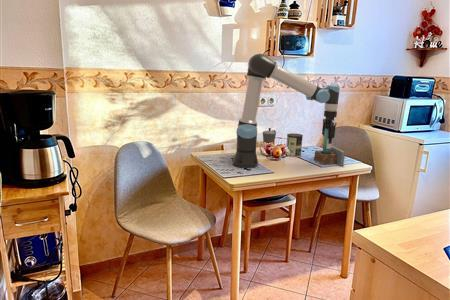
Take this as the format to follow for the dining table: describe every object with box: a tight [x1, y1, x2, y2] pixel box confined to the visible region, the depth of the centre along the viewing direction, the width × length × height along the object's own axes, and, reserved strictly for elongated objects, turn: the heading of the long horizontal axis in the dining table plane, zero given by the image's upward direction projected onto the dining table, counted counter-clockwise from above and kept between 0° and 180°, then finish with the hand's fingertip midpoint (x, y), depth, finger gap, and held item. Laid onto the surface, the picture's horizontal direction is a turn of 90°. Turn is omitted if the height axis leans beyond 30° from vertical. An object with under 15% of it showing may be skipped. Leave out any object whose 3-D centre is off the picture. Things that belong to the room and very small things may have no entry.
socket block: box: [313, 150, 337, 165], centre depth 211 cm, size 10×10×6 cm
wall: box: [330, 144, 346, 167], centre depth 212 cm, size 2×20×9 cm, turn 10°
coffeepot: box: [262, 127, 277, 143], centre depth 224 cm, size 15×9×18 cm, turn 144°
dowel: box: [322, 128, 330, 154], centre depth 209 cm, size 4×4×16 cm
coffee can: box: [286, 133, 304, 158], centre depth 224 cm, size 10×10×14 cm
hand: (326, 147), depth 209 cm, fingers closed on dowel, 4 cm apart
